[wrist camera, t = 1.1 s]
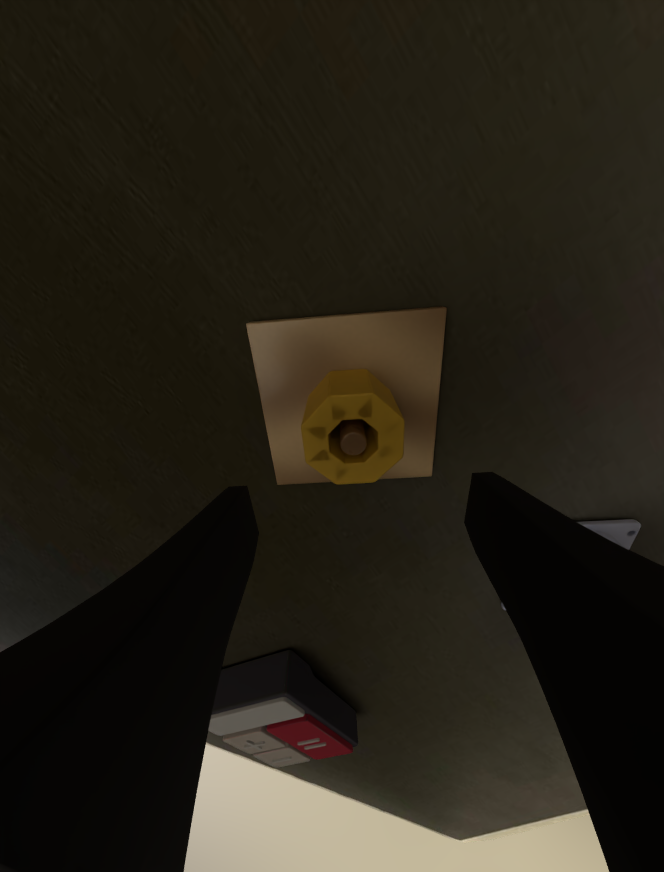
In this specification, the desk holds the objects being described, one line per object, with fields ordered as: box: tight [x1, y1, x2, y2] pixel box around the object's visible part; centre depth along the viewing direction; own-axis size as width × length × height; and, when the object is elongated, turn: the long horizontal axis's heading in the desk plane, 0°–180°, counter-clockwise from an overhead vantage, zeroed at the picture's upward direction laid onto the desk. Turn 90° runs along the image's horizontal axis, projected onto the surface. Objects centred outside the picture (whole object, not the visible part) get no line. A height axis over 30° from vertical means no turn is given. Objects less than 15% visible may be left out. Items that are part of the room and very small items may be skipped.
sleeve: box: [301, 369, 405, 484], centre depth 15 cm, size 5×5×4 cm
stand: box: [246, 306, 447, 485], centre depth 16 cm, size 10×10×5 cm
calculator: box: [208, 650, 358, 767], centre depth 32 cm, size 11×4×15 cm
